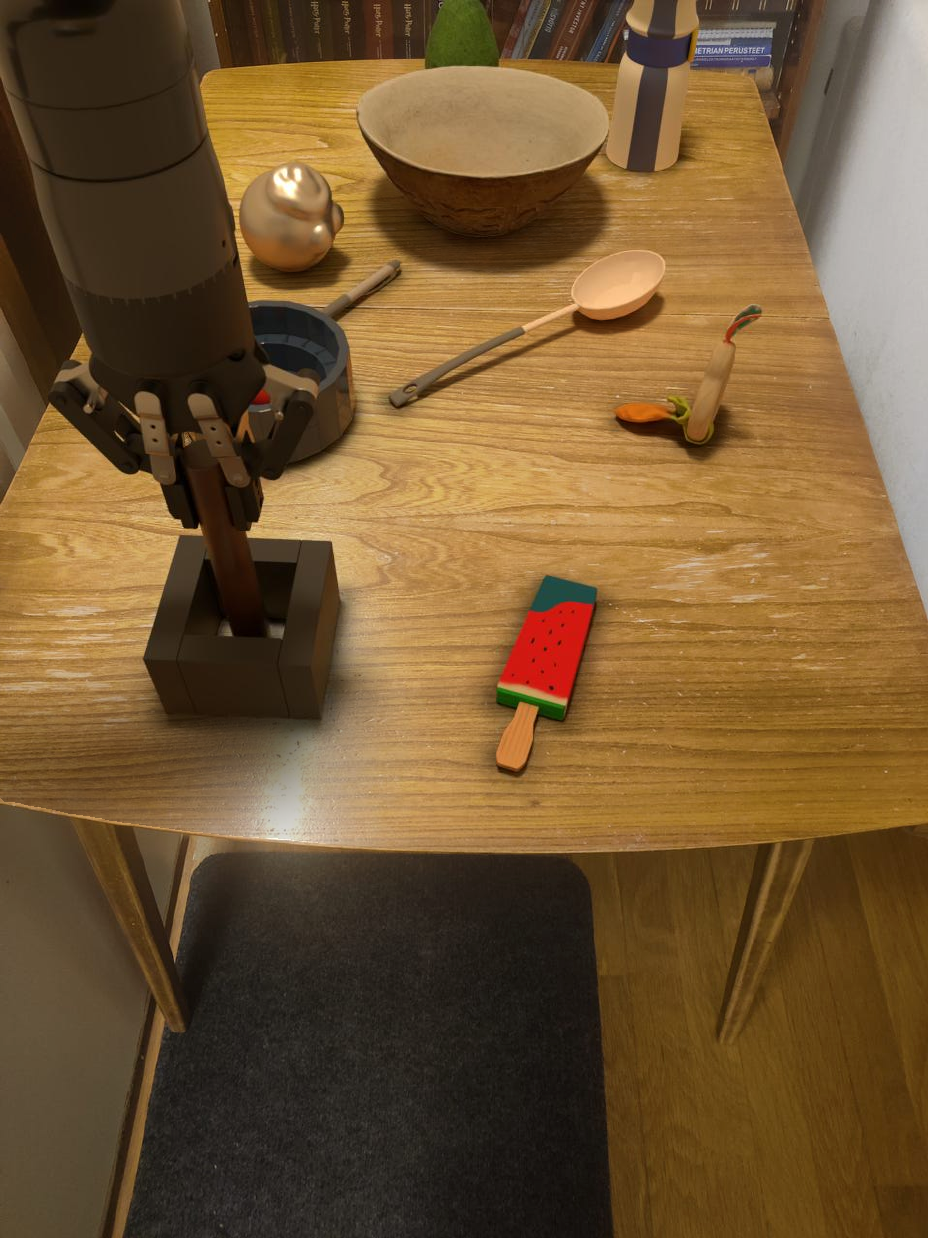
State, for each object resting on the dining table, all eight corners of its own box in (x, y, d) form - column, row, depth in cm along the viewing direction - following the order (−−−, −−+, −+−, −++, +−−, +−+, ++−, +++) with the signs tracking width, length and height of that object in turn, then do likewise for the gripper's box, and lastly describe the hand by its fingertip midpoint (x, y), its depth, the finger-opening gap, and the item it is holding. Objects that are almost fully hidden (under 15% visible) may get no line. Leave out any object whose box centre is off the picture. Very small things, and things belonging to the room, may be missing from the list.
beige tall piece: (659, 376, 85) (684, 254, 76) (743, 418, 82) (779, 296, 73) (608, 420, 81) (627, 298, 72) (694, 466, 78) (725, 345, 69)
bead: (246, 419, 80) (240, 388, 78) (253, 393, 82) (247, 362, 80) (286, 421, 80) (281, 389, 78) (292, 395, 82) (287, 363, 80)
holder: (165, 713, 64) (142, 659, 59) (198, 592, 70) (179, 534, 65) (321, 720, 64) (310, 666, 59) (340, 598, 70) (332, 540, 65)
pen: (405, 271, 94) (404, 257, 93) (303, 344, 87) (301, 331, 86) (397, 267, 94) (396, 253, 93) (295, 340, 88) (293, 326, 86)
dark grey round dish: (169, 468, 78) (151, 408, 73) (205, 357, 86) (190, 297, 81) (344, 474, 77) (337, 414, 73) (363, 363, 86) (357, 302, 81)
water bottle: (682, 136, 110) (732, -140, 90) (680, 175, 105) (733, -108, 85) (607, 129, 111) (640, -145, 91) (602, 169, 106) (636, -114, 86)
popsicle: (472, 750, 61) (540, 572, 70) (472, 762, 62) (538, 585, 71) (544, 772, 60) (603, 588, 69) (542, 783, 61) (601, 602, 70)
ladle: (680, 300, 90) (684, 257, 86) (419, 456, 84) (410, 418, 80) (637, 265, 93) (638, 222, 89) (381, 414, 87) (371, 375, 83)
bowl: (489, 125, 111) (491, 28, 103) (648, 215, 100) (664, 114, 92) (316, 199, 102) (304, 99, 94) (471, 307, 91) (473, 203, 83)
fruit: (466, 84, 117) (467, -32, 108) (511, 109, 114) (516, -8, 104) (412, 104, 114) (408, -13, 105) (456, 131, 110) (456, 12, 101)
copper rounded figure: (277, 305, 91) (260, 201, 83) (231, 255, 95) (211, 152, 87) (363, 274, 94) (355, 170, 86) (315, 227, 99) (303, 125, 91)
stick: (235, 667, 66) (175, 468, 52) (242, 638, 68) (185, 437, 54) (272, 668, 66) (221, 470, 52) (277, 639, 68) (230, 438, 53)
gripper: (-45, 286, 41) (81, 564, 55) (294, 298, 41) (335, 574, 54) (14, 189, 45) (116, 468, 59) (319, 198, 45) (351, 477, 59)
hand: (220, 518), depth 57 cm, fingers closed on stick, 2 cm apart
